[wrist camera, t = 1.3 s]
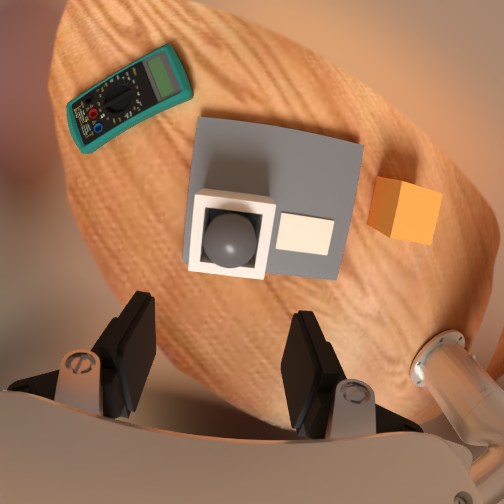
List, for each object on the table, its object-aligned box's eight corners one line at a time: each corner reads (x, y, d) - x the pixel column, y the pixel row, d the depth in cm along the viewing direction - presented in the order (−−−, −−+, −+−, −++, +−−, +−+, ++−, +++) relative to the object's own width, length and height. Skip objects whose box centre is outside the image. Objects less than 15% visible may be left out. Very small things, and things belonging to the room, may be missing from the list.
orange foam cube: (414, 186, 31) (442, 193, 25) (405, 231, 33) (430, 245, 27) (376, 176, 31) (402, 180, 25) (366, 224, 32) (390, 237, 27)
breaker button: (257, 212, 27) (260, 220, 23) (250, 255, 28) (252, 271, 24) (211, 206, 26) (206, 214, 23) (206, 250, 28) (201, 264, 24)
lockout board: (358, 145, 29) (387, 144, 23) (332, 275, 34) (352, 301, 28) (200, 118, 28) (189, 107, 21) (184, 258, 33) (172, 283, 26)
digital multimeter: (71, 108, 26) (59, 106, 24) (175, 48, 25) (170, 39, 22) (88, 157, 29) (76, 157, 26) (197, 98, 27) (193, 92, 25)
